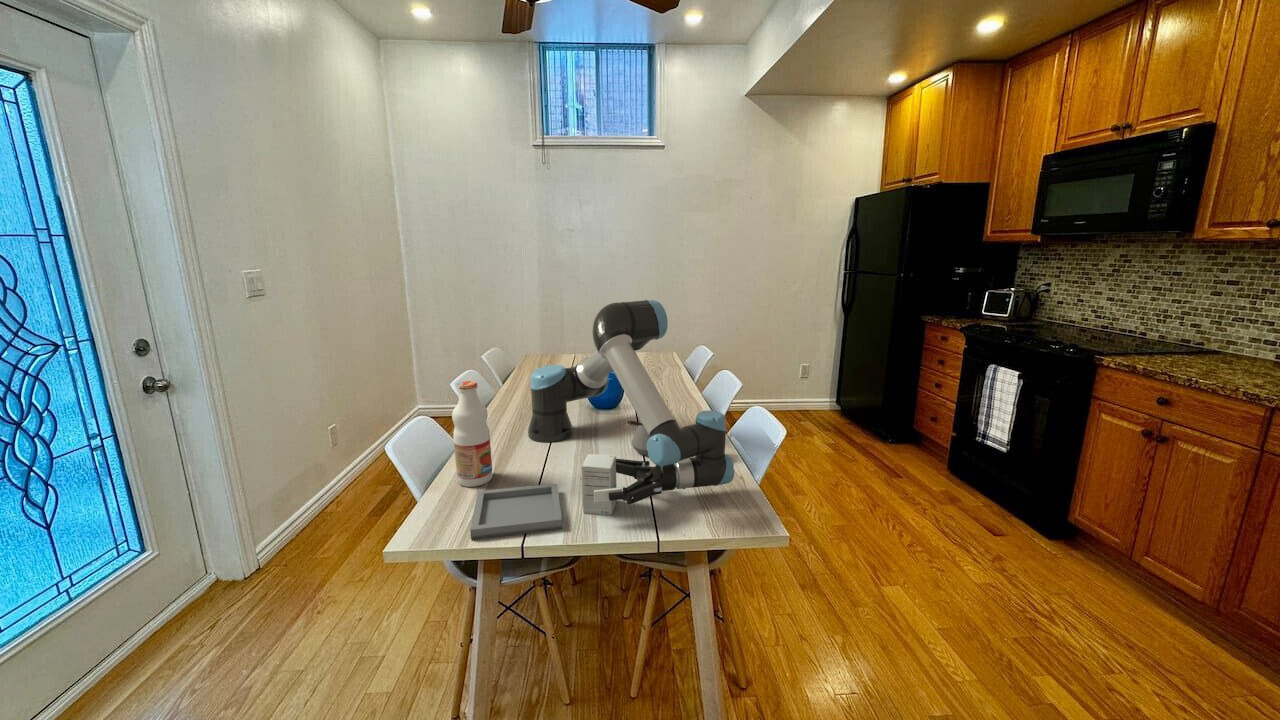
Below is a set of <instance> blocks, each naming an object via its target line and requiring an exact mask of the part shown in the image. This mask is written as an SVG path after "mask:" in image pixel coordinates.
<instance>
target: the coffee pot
mask: <svg viewBox="0 0 1280 720" xmlns="http://www.w3.org/2000/svg"><path fill="white" fill-rule="evenodd" d="M626 423H627V424H629V425H630V426H629V427H628V429H630V428H631V427H632V425H633V426H637V428H636V430H635V433H634V435H633V437H632V439H631V442H630V443H631V446H632V449H634V451H636V452H637V453H638V454H639V455H642V456H646V457H649V456H648V451H647V441H648V440H649V438H650V436H649V434H648V433H647V431H646V429H645V427H644V425H643V424H642V422H641V420H640V421H636V420H627V421H625V422H624V423H623V427H624V428H625V429H627V427H626V426H625V424H626Z"/></svg>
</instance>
